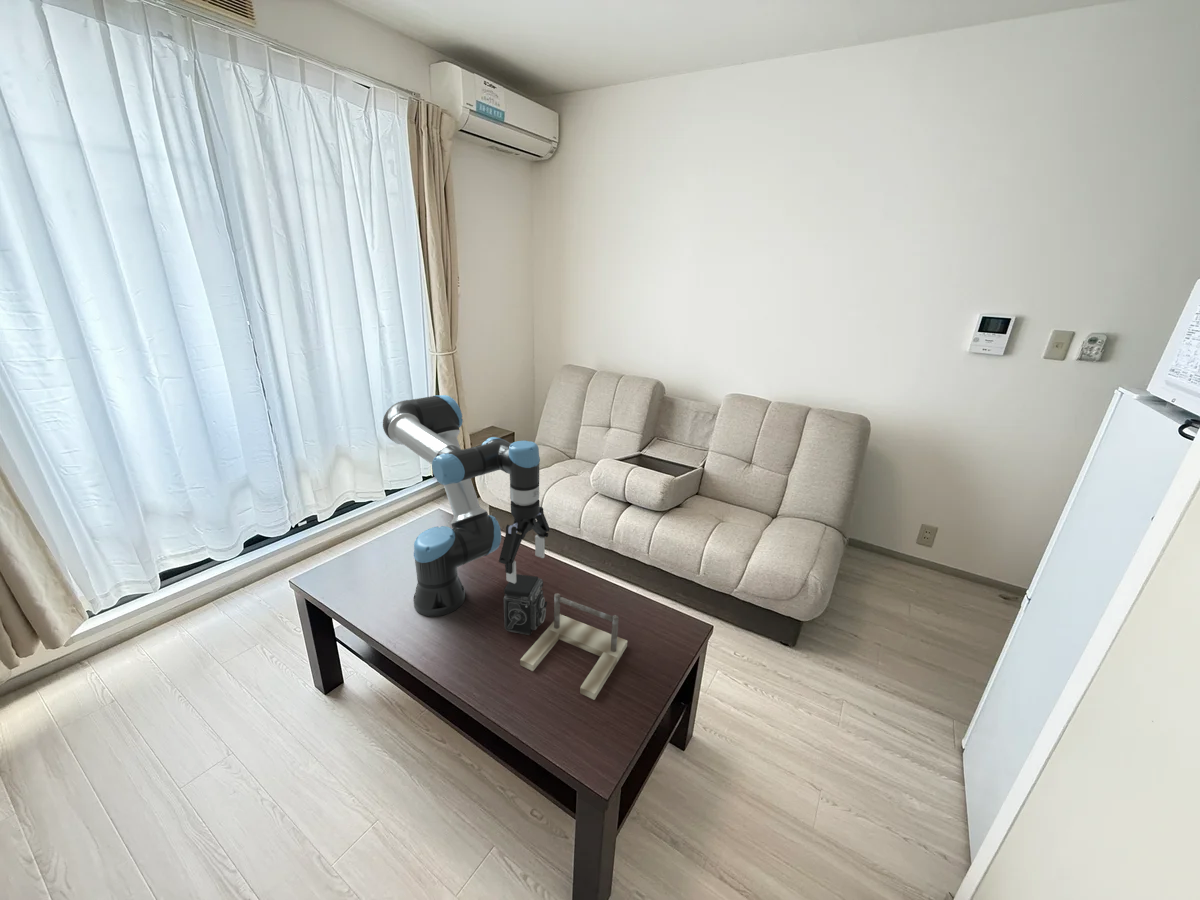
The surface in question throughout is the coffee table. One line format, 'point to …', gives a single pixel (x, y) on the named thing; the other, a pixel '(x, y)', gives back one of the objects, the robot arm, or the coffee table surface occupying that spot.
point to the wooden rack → (580, 644)
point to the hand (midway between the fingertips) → (526, 568)
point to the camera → (524, 604)
